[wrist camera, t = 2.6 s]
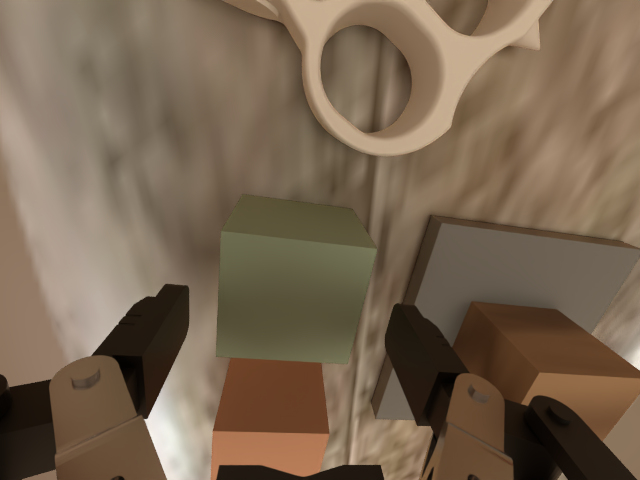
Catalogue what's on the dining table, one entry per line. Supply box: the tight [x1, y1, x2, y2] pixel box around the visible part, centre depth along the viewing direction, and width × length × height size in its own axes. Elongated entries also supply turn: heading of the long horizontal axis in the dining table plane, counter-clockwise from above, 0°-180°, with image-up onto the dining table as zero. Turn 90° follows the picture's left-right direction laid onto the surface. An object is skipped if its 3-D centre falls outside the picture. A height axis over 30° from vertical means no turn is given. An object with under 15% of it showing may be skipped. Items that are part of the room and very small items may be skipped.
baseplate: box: [371, 215, 640, 420], centre depth 19 cm, size 14×12×1 cm
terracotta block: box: [211, 358, 329, 480], centre depth 17 cm, size 6×6×5 cm
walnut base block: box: [452, 301, 640, 441], centre depth 16 cm, size 6×6×5 cm
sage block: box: [216, 194, 378, 364], centre depth 14 cm, size 6×6×5 cm
